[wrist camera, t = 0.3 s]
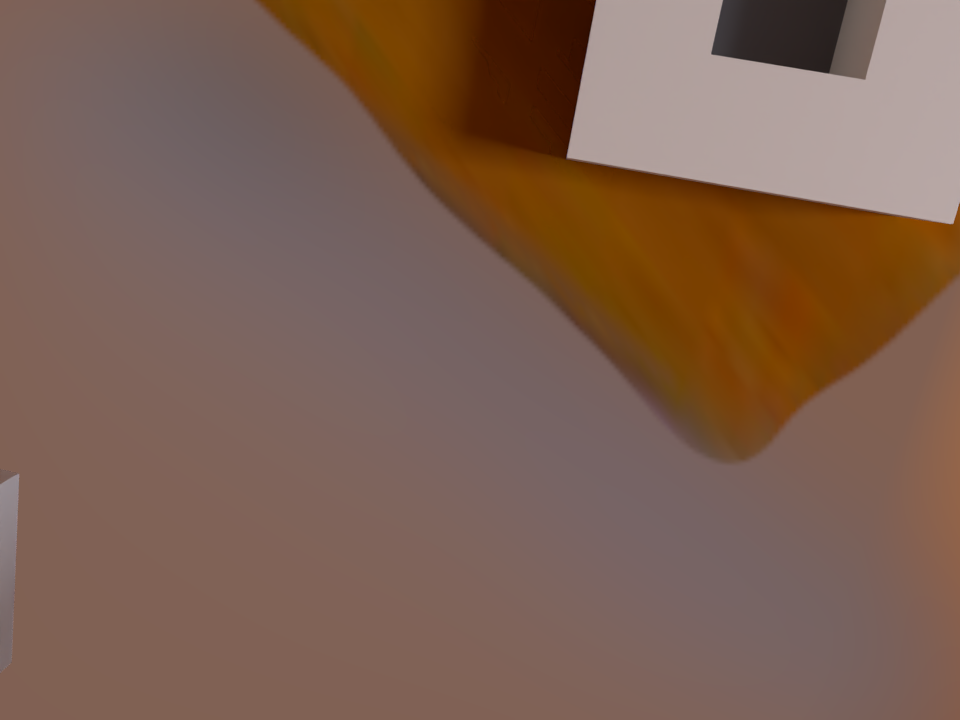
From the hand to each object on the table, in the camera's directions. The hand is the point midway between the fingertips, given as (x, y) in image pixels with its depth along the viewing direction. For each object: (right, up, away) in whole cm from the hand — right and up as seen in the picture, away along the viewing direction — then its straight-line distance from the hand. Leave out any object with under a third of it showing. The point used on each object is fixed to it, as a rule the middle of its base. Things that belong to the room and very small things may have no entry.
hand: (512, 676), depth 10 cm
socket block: (+11, +18, +23) cm, 31 cm away
